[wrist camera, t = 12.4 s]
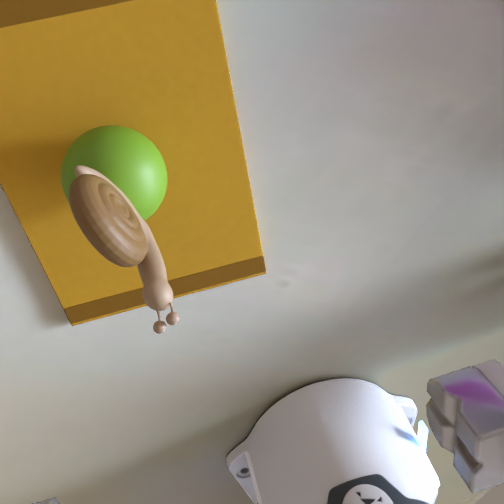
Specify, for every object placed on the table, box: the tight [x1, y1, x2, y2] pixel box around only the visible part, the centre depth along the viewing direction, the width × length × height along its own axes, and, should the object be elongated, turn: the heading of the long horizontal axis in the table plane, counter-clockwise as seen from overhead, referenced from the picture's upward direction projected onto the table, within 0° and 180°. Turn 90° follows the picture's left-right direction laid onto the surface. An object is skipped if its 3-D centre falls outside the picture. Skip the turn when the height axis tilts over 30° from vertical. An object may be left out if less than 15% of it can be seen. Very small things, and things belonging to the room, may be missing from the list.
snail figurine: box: [61, 125, 179, 334], centre depth 23 cm, size 5×6×12 cm
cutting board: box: [0, 0, 266, 326], centre depth 28 cm, size 20×14×1 cm
